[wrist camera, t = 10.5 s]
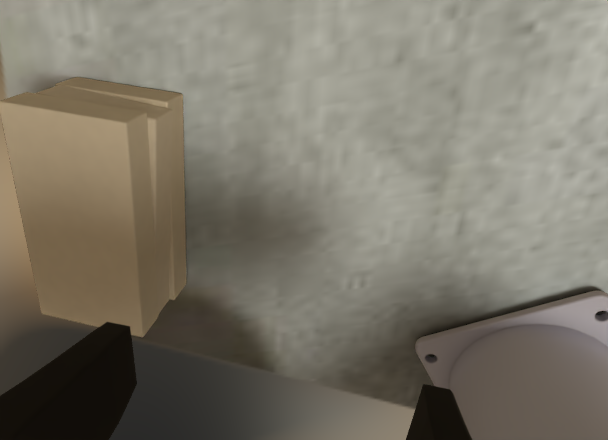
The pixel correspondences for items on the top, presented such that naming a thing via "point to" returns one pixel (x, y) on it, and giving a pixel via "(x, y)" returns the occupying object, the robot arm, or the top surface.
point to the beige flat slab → (85, 207)
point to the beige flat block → (177, 175)
